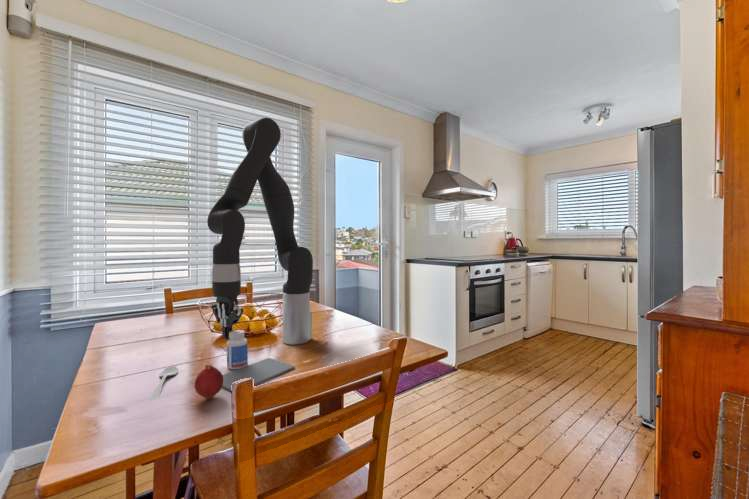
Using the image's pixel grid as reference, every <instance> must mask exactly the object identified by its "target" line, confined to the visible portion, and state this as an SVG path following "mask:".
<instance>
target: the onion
mask: <svg viewBox="0 0 749 499" xmlns="http://www.w3.org/2000/svg"><path fill="white" fill-rule="evenodd" d="M223 375H224V374H222V372H221V371H220V370H219V369H218V368H217V367H214V366H213V365H212V364H209V363H208V364H206V365H205V368H204V369H202V370H201V371H200V372H199V373H198V374H197V375H196V378H195V381H194V390H195V392H196V393H197V395H199V396H200V397H202V398H205V399H206V400H211V399H213V398H214V397H215V396H216V395H217V394H218V393H219V392H220V391H221V389H223V388H222V386H223Z"/></svg>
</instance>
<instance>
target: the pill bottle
mask: <svg viewBox="0 0 749 499" xmlns="http://www.w3.org/2000/svg"><path fill="white" fill-rule="evenodd" d="M245 336H246V334H245V330H243V329H235V330H232V331H231V332H229V338H230V339H227V340H226V366H227V369H229V370H238V369H240V368H243V367H246V366H248V365H249V364H248V363H249V360H248V357H249V355H248V354H249V353H248V340H247V338H246V337H245Z"/></svg>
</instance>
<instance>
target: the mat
mask: <svg viewBox="0 0 749 499" xmlns="http://www.w3.org/2000/svg"><path fill="white" fill-rule="evenodd" d="M293 368H294V369H295V368H296V366H295V365H291V364H289V363H286V362H283V361H280V360H277V359H273V358H270V357H268V358H265V359H262V360H259V361H257V362H254V363H251V364H247V366H245V367H243V368H240V369H234V370H233V371H232V370H231V371H230V372H228V373H224V374H222V375H223V386H222V388H221V389H224V390H226V391H229V392H230V393H232V392H231V385H232V383H233V382H235V381H238V380H240V379H244V378H250V377H251V378H253V379H254V386H253V387H256V386H258V385H260V384H262V383H264V382H266V381H269V380H271V378H272V379H273V377H274V378H276V377H278V376H281V375H283V374H285V373H287V372H286V371H288V370H290V371H292V370H294V369H293ZM291 369H292V370H291ZM284 372H285V373H284ZM288 372H289V371H288ZM282 373H283V374H282ZM280 374H281V375H280ZM275 376H276V377H275ZM268 379H269V380H268Z"/></svg>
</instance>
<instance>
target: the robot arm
mask: <svg viewBox="0 0 749 499" xmlns="http://www.w3.org/2000/svg"><path fill="white" fill-rule="evenodd" d="M241 132H242V133H241V135H242V142H243V144H244V147H245V150H246V152H247V153H246V155H245V156H244V157H243V159H242V160H241V162H240V163H239V164H238V165H237V166H236V168H235V170H234V171H233V173H232V174H231V176H230V178H229V180H228V182H227V185H226V187H225V189H224V192H223V193H222V195H221V196H220V198H218V200H217V201H216V203H215V204H214V206H212V208H211V210H210V211H209V213H208V217H207V221H206V222H207V227H208V230H210V232H212V233H213V234H215V235H221V238H220V241H219V242H218V243H214V245H213V247H212V269H211V283H212V284H211V291H212V292H211V294H212V297H214V298H216V299H215V304H212V305H211V307H210V308H211V310H212V313H213V315H214V317H215V320H216V322H217V323H218V324H219V325H220V326H221V327H222V328H221V329H222V330H221V331H222V332H221V333H222V335H221V338H222V339H224V340H226V341H228V340H230V338H229V332H231V331H233V327H234V325H237V324H238V323H239V321H240V320H241V317H242V315H243V313H244V308H243V307H241V308H240V307H239V301H238V296H240V295H241V294H242V288H241V287H242V276H241V275H242V274H241V273H242V272H241V271H242V270H241V265H240V264H241V263H240V261H241V260H240V258H241V257H240V249H241V245H242V242H243V238H244V233H245V229H246V221H245V217H244V216H243V213H241V211H239V210H240V209H242V208H245V207H246V206H247V205H248V203H249V201H250V199H251V196H252V194H253V192H254V188H255V186H256V184H257V182H258V185H259V188H260V192H261V196H262V199H263V203H264V206H265V210H266V213H267V216H268V219H269V223H270V226H271V230H272V233H273V235H274V236H273V237H274V241H275V246H276V251H277V257H278V261H279V264H280V266H281V267H282V269H283V270H284V271H287V280H286V282H285V283H283V285H282V342H283V343H284V344H286V345H302V344H306V343H308V342H309V341H311V340H312V338H313V336H312V335H313V332H312V331H313V328H312V327H313V323H312V322H313V316H312V315H313V314H312V311H310V310H311V292H310V291H311V285H312V284H313V270H314V269H313V268H314V262H313V261H314V258H313V255H312V252H311V251H310V249H308V248H307V247H305V246H299V245H298V243H297V239H296V235H295V230H294V219H295V205H294V201H293V196H292V193H291V189H290V187H289V185H288V183H287V182H286V181H285V179H284V178H283V177H282V176H281V174H280V173H279V172H278V170H277V169H276V167H275V166H274V164H273V162H272V157H271V156H272V154H273V152H274V151H275V150H276V147H277V146H279V143H280V141H281V139H282V138H281V137H282V136H281V135H282V132H281V128H280V126H279V125H278V123H277V122H276V121H275V120H274V119H272V118H270V117H260V118H258V119H256V120H253V121H250V122H249V123H247V124H245V125H244V126H243V128H242V131H241Z"/></svg>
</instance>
